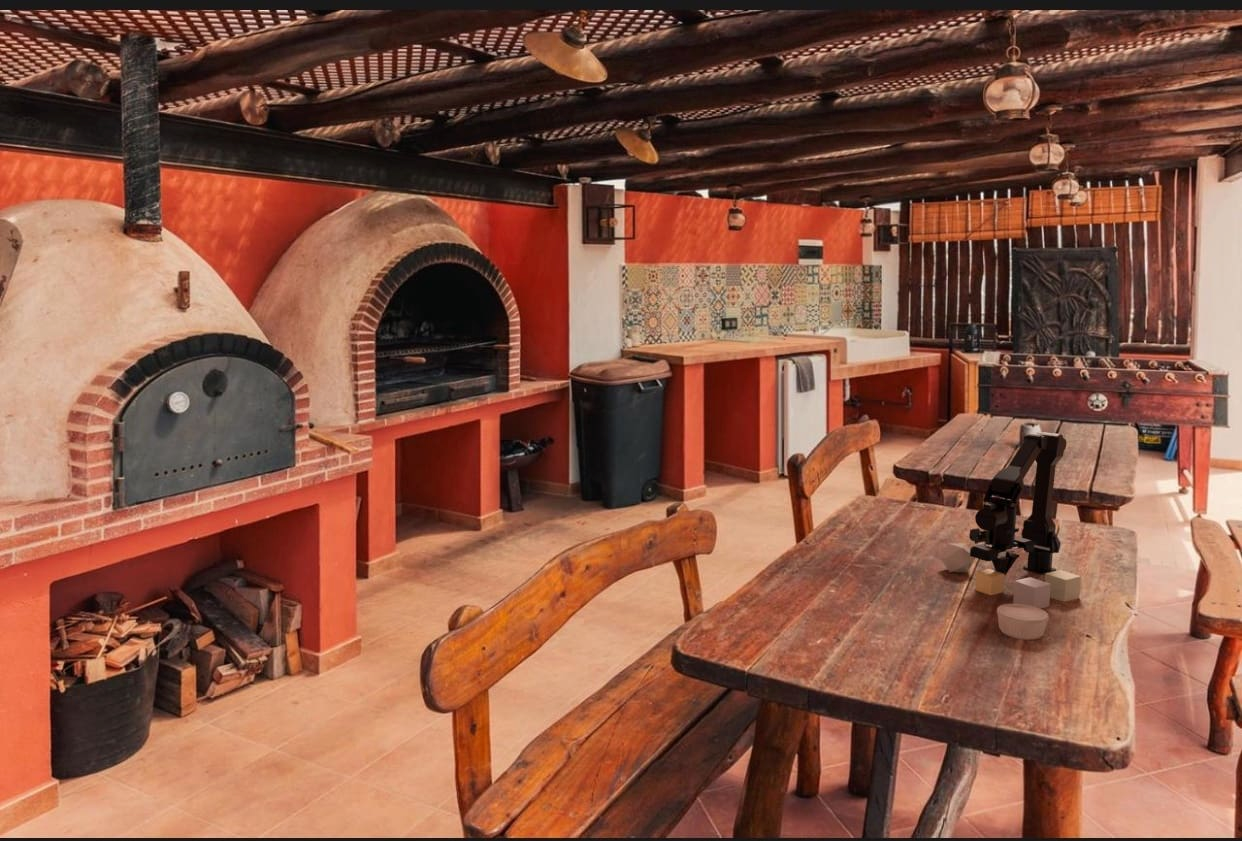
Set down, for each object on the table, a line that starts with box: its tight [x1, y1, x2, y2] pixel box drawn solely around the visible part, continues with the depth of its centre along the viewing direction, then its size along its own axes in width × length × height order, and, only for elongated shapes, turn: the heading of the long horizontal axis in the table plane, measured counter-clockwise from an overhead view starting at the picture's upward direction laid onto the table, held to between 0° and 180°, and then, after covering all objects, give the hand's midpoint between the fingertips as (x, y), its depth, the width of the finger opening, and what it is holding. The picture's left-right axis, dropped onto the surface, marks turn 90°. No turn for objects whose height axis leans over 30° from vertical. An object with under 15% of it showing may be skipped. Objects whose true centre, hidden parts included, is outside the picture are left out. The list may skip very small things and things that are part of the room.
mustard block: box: [974, 568, 1006, 596], centre depth 241 cm, size 5×5×5 cm
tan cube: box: [1044, 569, 1082, 603], centre depth 237 cm, size 6×6×6 cm
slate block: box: [1012, 576, 1051, 610], centre depth 231 cm, size 6×6×6 cm
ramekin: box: [996, 603, 1049, 641], centre depth 213 cm, size 11×11×5 cm
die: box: [940, 542, 976, 573], centre depth 258 cm, size 8×9×10 cm
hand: (1000, 579), depth 243 cm, fingers closed
